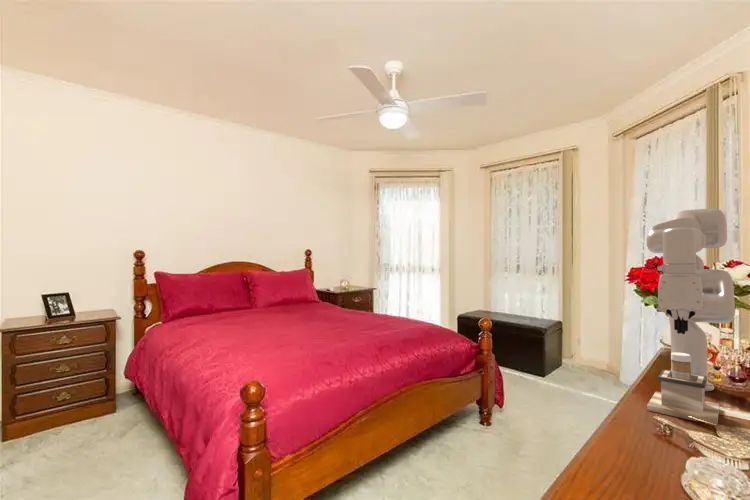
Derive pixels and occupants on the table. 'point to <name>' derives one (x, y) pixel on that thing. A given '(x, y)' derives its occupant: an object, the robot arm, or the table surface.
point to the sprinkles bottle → (681, 366)
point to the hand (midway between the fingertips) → (681, 333)
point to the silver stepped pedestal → (683, 398)
